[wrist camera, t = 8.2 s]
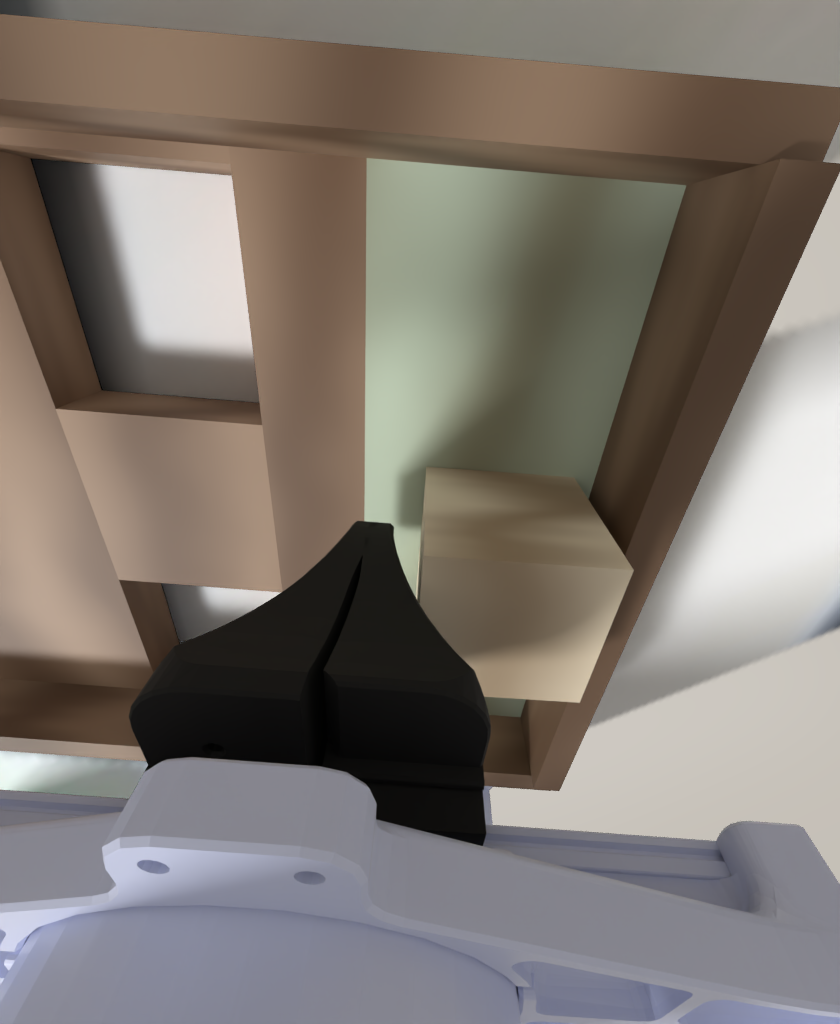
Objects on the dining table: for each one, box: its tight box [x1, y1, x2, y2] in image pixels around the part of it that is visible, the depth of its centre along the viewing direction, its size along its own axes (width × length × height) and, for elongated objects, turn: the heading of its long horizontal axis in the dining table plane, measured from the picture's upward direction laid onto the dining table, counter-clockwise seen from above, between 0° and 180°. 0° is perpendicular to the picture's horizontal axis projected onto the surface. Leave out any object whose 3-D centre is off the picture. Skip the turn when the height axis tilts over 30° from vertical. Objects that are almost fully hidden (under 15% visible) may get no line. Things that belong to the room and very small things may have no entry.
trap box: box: [0, 14, 840, 791], centre depth 14 cm, size 28×21×5 cm
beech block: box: [416, 467, 634, 703], centre depth 12 cm, size 4×4×4 cm
